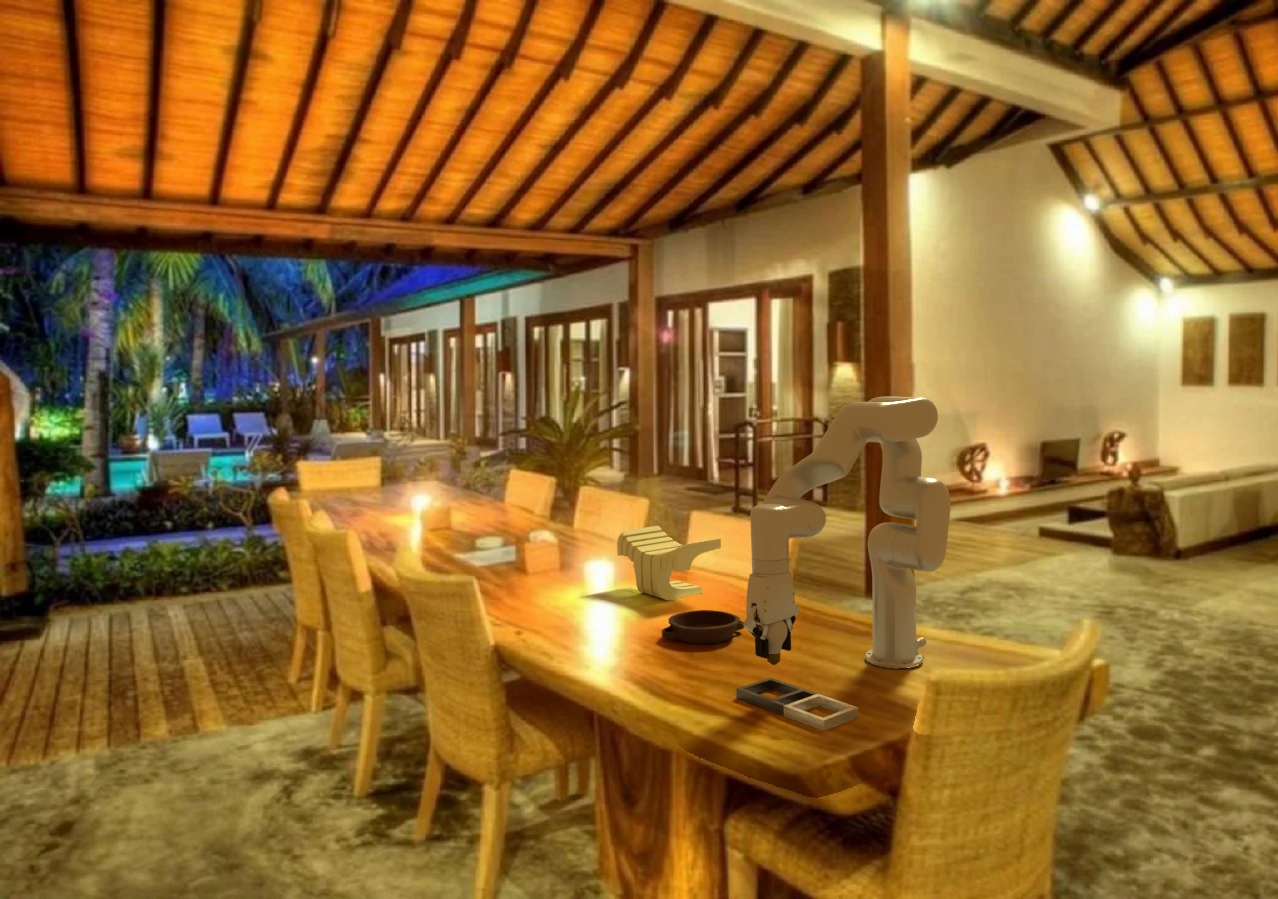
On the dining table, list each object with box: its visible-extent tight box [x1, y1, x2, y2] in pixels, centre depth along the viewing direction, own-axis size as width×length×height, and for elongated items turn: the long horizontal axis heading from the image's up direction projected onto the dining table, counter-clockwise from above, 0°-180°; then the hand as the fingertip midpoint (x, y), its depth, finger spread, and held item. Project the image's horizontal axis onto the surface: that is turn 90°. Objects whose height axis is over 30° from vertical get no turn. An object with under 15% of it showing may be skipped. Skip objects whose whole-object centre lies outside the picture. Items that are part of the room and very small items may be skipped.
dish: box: [661, 609, 745, 645], centre depth 231 cm, size 18×22×5 cm
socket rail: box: [735, 677, 859, 732], centre depth 182 cm, size 10×23×2 cm, turn 38°
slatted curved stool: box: [616, 525, 722, 601], centre depth 275 cm, size 30×16×18 cm, turn 36°
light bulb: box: [759, 620, 787, 666], centre depth 187 cm, size 6×6×10 cm
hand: (773, 652), depth 187 cm, fingers closed on light bulb, 5 cm apart
